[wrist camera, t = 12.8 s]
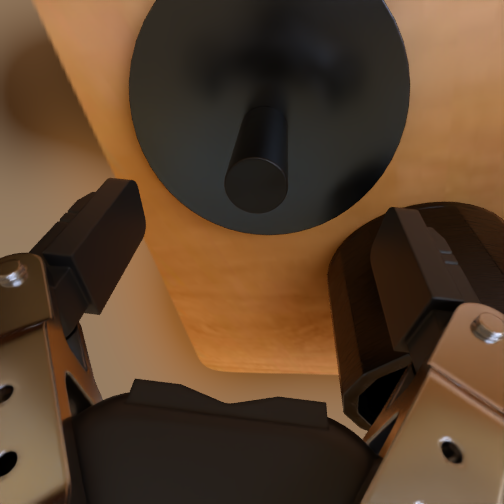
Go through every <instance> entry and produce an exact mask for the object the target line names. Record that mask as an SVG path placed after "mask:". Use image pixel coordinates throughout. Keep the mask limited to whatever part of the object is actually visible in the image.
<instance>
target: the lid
mask: <svg viewBox="0 0 504 504" xmlns="http://www.w3.org/2000/svg"><path fill="white" fill-rule="evenodd" d="M409 96H410V77H409V64H408V59H407V54H406V50H405V46H404V41H403V39H402V36H401V33H400V31H399V28H398V26H397V23H396V21H395V19H394V17H393V15H392V13H391V12H390V10H389V8H388V6H387V5H386V3H385V1H384V0H156V1H155V3H154V4H153V6H152V8H151V10H150V11H149V13H148V15H147V16H146V18H145V20H144V22H143V25H142V27H141V30H140V32H139V35H138V37H137V40H136V43H135V47H134V52H133V56H132V60H131V67H130V77H129V101H130V108H131V115H132V121H133V125H134V128H135V132H136V136H137V139H138V141H139V144H140V146H141V149H142V151H143V153H144V155H145V157H146V159H147V161H148V163H149V165H150V167H151V168H152V170H153V171H154V173H155V174H156V175H157V177H158V178H159V180H160V181H161V182H162V183H163V185H164V186H165V187H166V188H167V189H168V191H169V192H170V193H171V194H172V195H173V196H175V197H176V198H177V199H178V200H179V201H180V202H181V203H182V204H184V205H185V206H186V207H187V208H189V209H190V210H191V211H193V212H194V213H196V214H198V215H199V216H201V217H203V218H204V219H206V220H208V221H210V222H212V223H215V224H217V225H219V226H222V227H225V228H228V229H231V230H235V231H239V232H243V233H250V234H257V235H279V234H288V233H294V232H299V231H303V230H306V229H310V228H313V227H315V226H318V225H321V224H323V223H325V222H327V221H329V220H331V219H333V218H335V217H337V216H338V215H340V214H342V213H343V212H345V211H346V210H348V209H349V208H350V207H352V206H353V205H354V204H355V203H357V202H358V201H359V200H360V199H361V198H362V197H363V196H364V195H365V194H366V193H367V192H368V191H369V190H370V189H371V188H372V187H373V186H374V185H375V183H376V182H377V181H378V180H379V178H380V177H381V176H382V174H383V173H384V171H385V170H386V168H387V166H388V165H389V163H390V161H391V160H392V158H393V156H394V153H395V151H396V149H397V147H398V145H399V143H400V139H401V136H402V133H403V130H404V127H405V123H406V118H407V113H408V108H409Z"/></svg>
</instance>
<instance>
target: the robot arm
mask: <svg viewBox="0 0 504 504" xmlns="http://www.w3.org/2000/svg"><path fill="white" fill-rule="evenodd" d="M145 229H146V220H145V216H144V211H143V207H142V202H141V198H140V194H139V189H138V186H137V184H136V182H135V181H134V180H125V179H115V178H109V179H107V180H106V181H105V182H104V184H103V185H102V186H101V187H100V188H99V189H98V190H97V191H96V192H92V193H90V194H88V195H86V196H84V197H82V198H81V199H79V200H77V202H76V203H75V204H74V205H73V206H72V207H71V208H70V209H69V210H68V213H65V214H64V215H63V216H62V217H61V219H60V222H57V223H56V224H55V225H54V226H53V227H52V228H51V229H50V231H48V232H47V234H46V235H45V236H44V237H43V238H42V239H41V240H40V241H39V242H38V243H37V244H36V245H35V246H34V247H33V248H32V249H31V251H30V252H29V253H17V254H12V255H8V256H5V257H2V258H0V504H504V314H502V313H501V312H499V311H497V310H496V309H494V308H491V307H489V306H486V305H483V304H481V302H480V301H479V299H478V297H477V295H476V293H475V292H474V290H473V288H472V286H471V285H470V283H469V281H468V279H467V277H466V276H465V274H464V272H463V270H462V269H461V267H460V266H459V265H458V261H457V260H456V258H455V256H454V255H452V251H451V249H450V247H449V245H448V244H447V242H446V240H445V239H444V238H443V237H442V236H441V235H440V234H439V233H437V232H436V231H435V230H434V229H433V228H431V227H427V226H426V224H425V222H424V220H423V218H422V217H421V215H420V213H419V211H418V210H415V209H405V208H395V207H391V208H389V209H388V211H387V212H386V214H385V217H384V219H383V221H382V224H381V226H380V228H379V231H378V233H377V235H376V238H375V240H374V242H373V245H372V248H371V254H370V261H371V266H372V270H373V273H374V277H375V281H376V285H377V289H378V292H379V296H380V300H381V304H382V308H383V311H384V315H385V319H386V323H387V327H388V331H389V334H390V338H391V342H392V346H393V350H394V351H400V352H409V353H410V355H411V359H412V361H411V363H410V364H409V365H408V366H407V368H406V370H405V372H404V373H403V375H402V377H401V378H400V380H399V382H398V384H397V385H396V387H395V389H394V390H393V392H392V394H391V396H390V397H389V399H388V401H387V403H386V404H385V406H384V408H383V409H382V411H381V413H380V414H379V416H378V418H377V419H376V420H375V422H374V423H373V425H372V426H371V427H370V429H369V430H368V432H367V433H366V435H365V436H364V438H363V439H361V438H360V437H359V436H358V435H356V434H355V433H354V432H352V431H351V430H350V429H348V428H347V427H345V426H344V425H342V424H340V423H338V422H337V421H335V420H333V419H331V418H328V417H327V408H326V403H325V402H317V401H309V400H301V399H293V398H285V397H273V398H266V399H259V400H253V401H246V402H239V403H231V404H228V403H224V402H221V401H219V400H216V399H214V398H212V397H209V396H207V395H205V394H202V393H200V392H197V391H195V390H193V389H191V388H188V387H186V386H183V385H181V384H172V383H165V382H157V381H149V380H141V379H135V380H134V382H133V385H132V387H131V390H130V392H129V393H124V394H120V395H116V396H113V397H110V398H107V399H105V400H103V399H102V397H101V394H100V392H99V390H98V388H97V385H96V382H95V379H94V376H93V372H92V368H91V364H90V360H89V356H88V352H87V348H86V344H85V340H84V336H83V332H82V327H81V325H80V323H79V320H80V319H81V317H82V315H83V314H84V313H89V314H97V315H100V314H101V312H102V310H103V308H104V307H105V305H106V303H107V301H108V299H109V298H110V296H111V294H112V292H113V290H114V289H115V287H116V285H117V283H118V281H119V280H120V278H121V276H122V275H123V273H124V271H125V269H126V267H127V266H128V264H129V262H130V260H131V258H132V257H133V255H134V253H135V251H136V249H137V248H138V246H139V244H140V242H141V241H142V239H143V237H144V234H145Z"/></svg>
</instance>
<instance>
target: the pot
mask: <svg viewBox="0 0 504 504" xmlns="http://www.w3.org/2000/svg"><path fill="white" fill-rule="evenodd" d="M405 209H415V210H418V211H419V213H420V215H421V217H422V218H423V220H424V222H425V224H426V226H427V227H431V228H433V229H434V230H435V231H436V232H437V233H439V234H440V235H441V236H442V237H443V238H444V239H445V240H446V242H447V244H448V245H449V247H450V249H451V251H452V255H454V256H455V258H456V260H457V261H458V265H459V266H460V267H461V269H462V270H463V272H464V274H465V276H466V277H467V279H468V281H469V283H470V285H471V286H472V288H473V290H474V292H475V293H476V295H477V297H478V299H479V301H480V302H481V304H483V305H486V306H489V307H491V308H494V309H496V310H497V311H499V312H501V313H502V314H504V220H503V219H502V218H500V217H499V216H497V215H496V214H494V213H493V212H490V211H488V210H486V209H484V208H481V207H478V206H474V205H471V204H464V203H458V202H433V203H424V204H418V205H413V206H409V207H405ZM384 217H385V215H382V216H380V217H378V218H376V219H374V220H372V221H371V222H369V223H367V224H366V225H364V226H362V227H361V228H360V229H358V230H357V231H355V232H354V233H353V234H352V235H351V236H350V237H348V238H347V239H346V240H345V241H344V242H343V244H342V245H341V246H340V247H339V248H338V250H337V251H336V253H335V255H334V256H333V258H332V260H331V263H330V265H329V270H328V274H327V276H328V291H329V301H330V309H331V317H332V325H333V333H334V341H335V349H336V357H337V364H338V372H339V380H340V388H341V396H342V404H343V412H344V414H345V415H346V416H347V417H349V418H350V419H351V420H352V421H353V422H354V423H355V424H356V425H357V426H359V427H360V428H362V429H364V430H367V431H368V430H369V429H370V427H371V426H372V425H373V423H374V422H375V420H376V419H377V418H378V416H379V414H380V413H381V411H382V409H383V408H384V406H385V404H386V403H387V401H388V399H389V397H390V396H391V394H392V392H393V390H394V389H395V387H396V385H397V384H398V382H399V380H400V378H401V377H402V375H403V373H404V372H405V370H406V368H407V366H408V365H409V364H410V363H411V361H412V359H411V355H410V353H409V352H400V351H394V350H393V346H392V342H391V338H390V334H389V331H388V327H387V323H386V319H385V315H384V311H383V308H382V304H381V300H380V296H379V292H378V289H377V285H376V281H375V277H374V273H373V270H372V266H371V261H370V254H371V248H372V245H373V242H374V240H375V238H376V235H377V233H378V231H379V228H380V226H381V224H382V221H383V219H384Z"/></svg>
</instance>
